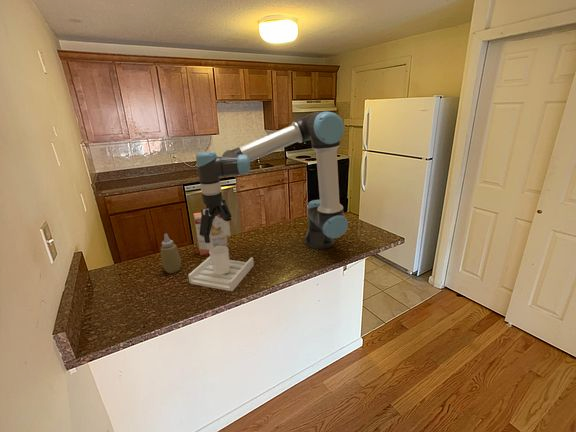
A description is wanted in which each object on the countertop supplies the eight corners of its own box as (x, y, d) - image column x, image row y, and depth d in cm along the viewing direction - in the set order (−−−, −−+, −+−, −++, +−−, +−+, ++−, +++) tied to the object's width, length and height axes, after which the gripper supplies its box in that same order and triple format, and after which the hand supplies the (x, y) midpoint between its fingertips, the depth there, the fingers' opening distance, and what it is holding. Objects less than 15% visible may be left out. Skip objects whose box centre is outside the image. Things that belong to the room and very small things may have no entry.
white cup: (233, 266, 123) (230, 246, 120) (227, 276, 116) (224, 255, 112) (216, 265, 124) (213, 245, 121) (209, 275, 117) (206, 254, 113)
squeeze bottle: (186, 266, 129) (179, 231, 122) (174, 276, 121) (166, 239, 115) (172, 264, 131) (164, 229, 125) (159, 273, 124) (151, 237, 118)
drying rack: (253, 265, 127) (253, 257, 126) (232, 291, 110) (231, 282, 108) (215, 260, 133) (214, 252, 132) (189, 283, 116) (188, 274, 114)
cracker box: (200, 256, 137) (193, 216, 130) (199, 251, 143) (192, 212, 135) (228, 250, 142) (223, 212, 135) (226, 245, 147) (221, 208, 140)
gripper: (220, 184, 121) (226, 229, 128) (183, 202, 99) (193, 255, 106) (235, 184, 118) (241, 230, 126) (201, 203, 96) (210, 257, 104)
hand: (219, 241), depth 116 cm, fingers open, 13 cm apart
